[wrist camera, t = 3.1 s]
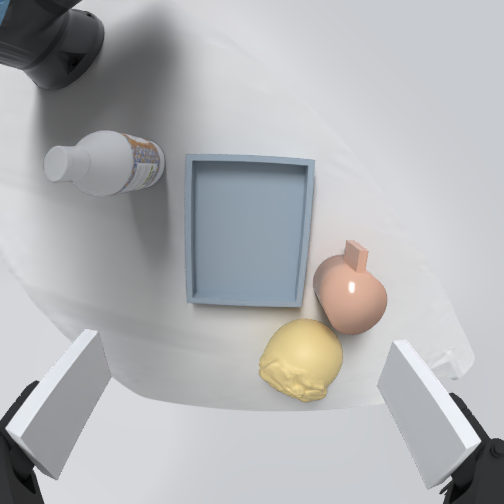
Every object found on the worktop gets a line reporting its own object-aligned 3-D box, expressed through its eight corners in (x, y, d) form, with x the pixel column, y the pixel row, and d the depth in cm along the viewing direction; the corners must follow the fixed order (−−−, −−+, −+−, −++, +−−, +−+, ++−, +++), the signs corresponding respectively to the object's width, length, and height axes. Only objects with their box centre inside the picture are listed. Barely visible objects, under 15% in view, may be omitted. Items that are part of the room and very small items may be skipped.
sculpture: (247, 346, 44) (247, 392, 34) (299, 296, 41) (313, 335, 31) (296, 378, 46) (305, 422, 36) (346, 334, 44) (367, 374, 33)
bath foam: (172, 146, 35) (99, 126, 16) (158, 193, 37) (78, 218, 18) (129, 135, 34) (38, 116, 15) (116, 181, 36) (21, 197, 17)
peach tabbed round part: (309, 303, 42) (323, 335, 33) (318, 234, 39) (337, 252, 30) (357, 303, 42) (379, 333, 33) (368, 237, 39) (397, 255, 30)
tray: (190, 155, 35) (186, 154, 33) (309, 160, 36) (315, 159, 33) (191, 293, 41) (187, 302, 38) (297, 298, 41) (301, 307, 39)
